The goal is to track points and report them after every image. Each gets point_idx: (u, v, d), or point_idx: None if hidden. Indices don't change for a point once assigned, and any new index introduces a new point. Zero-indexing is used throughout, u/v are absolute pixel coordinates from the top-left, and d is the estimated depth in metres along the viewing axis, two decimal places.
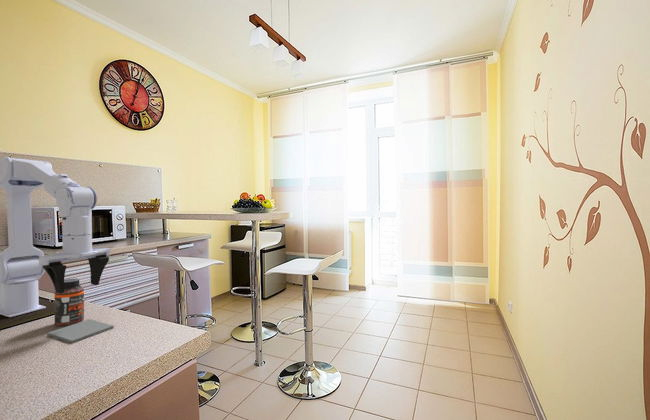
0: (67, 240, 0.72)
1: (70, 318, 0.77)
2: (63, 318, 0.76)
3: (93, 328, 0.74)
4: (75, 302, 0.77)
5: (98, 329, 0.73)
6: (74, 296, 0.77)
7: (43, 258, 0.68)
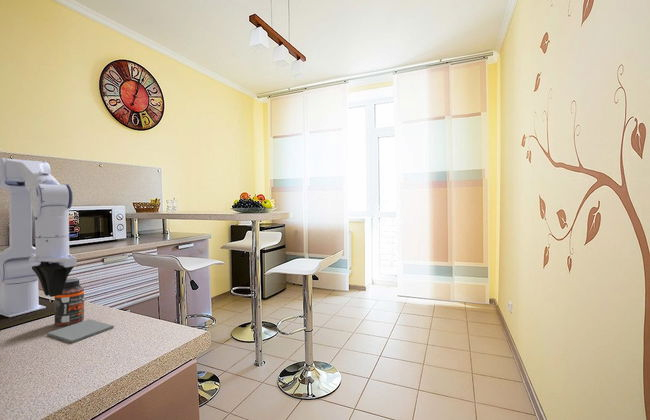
0: None
1: (70, 318, 0.77)
2: (63, 318, 0.76)
3: (93, 328, 0.74)
4: (75, 302, 0.77)
5: (98, 329, 0.73)
6: (74, 296, 0.77)
7: None
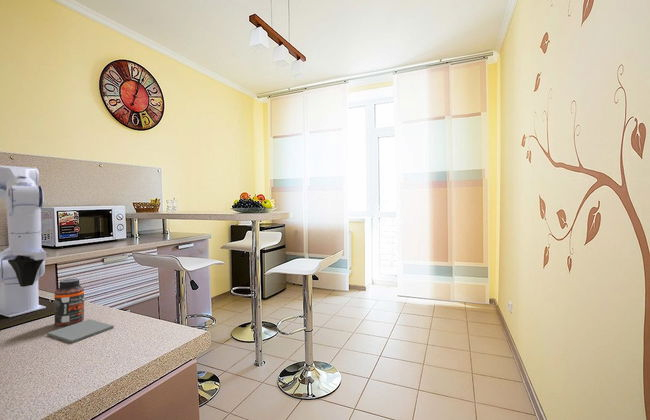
0: None
1: (70, 318, 0.77)
2: (63, 318, 0.76)
3: (93, 328, 0.74)
4: (75, 302, 0.77)
5: (98, 329, 0.73)
6: (74, 296, 0.77)
7: None
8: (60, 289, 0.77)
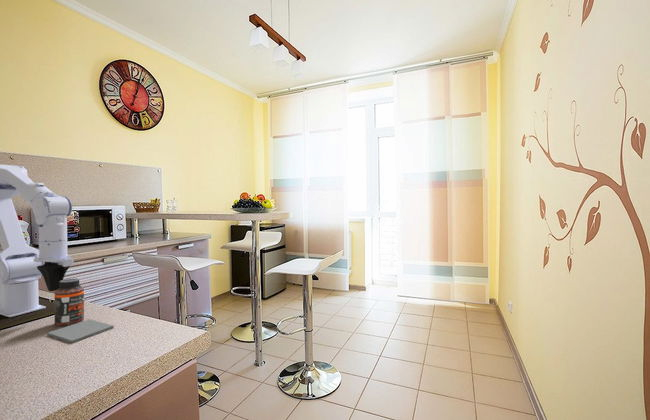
0: None
1: (70, 318, 0.77)
2: (63, 318, 0.76)
3: (93, 328, 0.74)
4: (75, 302, 0.77)
5: (98, 329, 0.73)
6: (74, 296, 0.77)
7: None
8: (60, 289, 0.77)
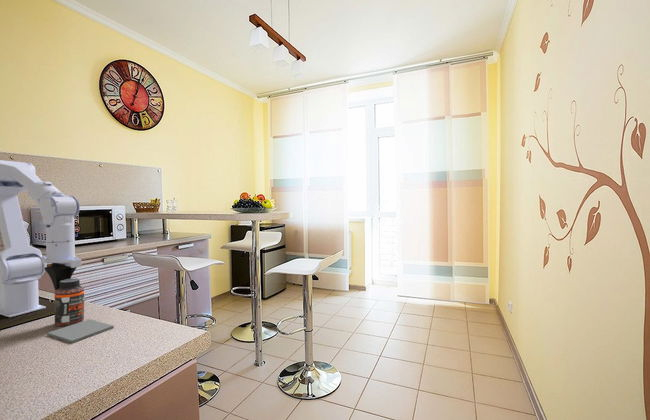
0: None
1: (70, 318, 0.77)
2: (63, 318, 0.76)
3: (93, 328, 0.74)
4: (75, 302, 0.77)
5: (98, 329, 0.73)
6: (74, 296, 0.77)
7: None
8: (60, 289, 0.76)
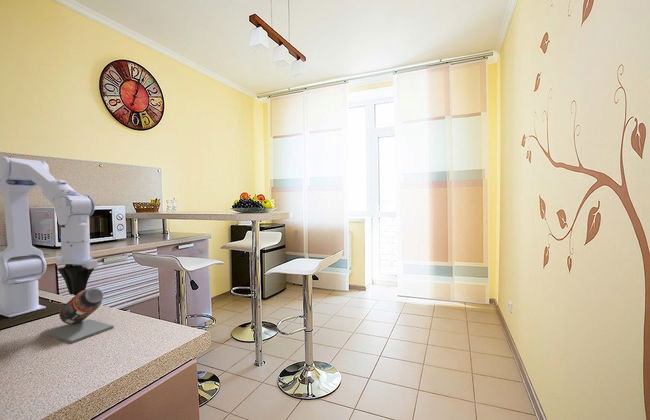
0: None
1: (74, 322, 0.76)
2: (68, 320, 0.75)
3: (93, 328, 0.74)
4: (86, 315, 0.75)
5: (98, 329, 0.73)
6: (89, 312, 0.75)
7: None
8: (81, 301, 0.73)
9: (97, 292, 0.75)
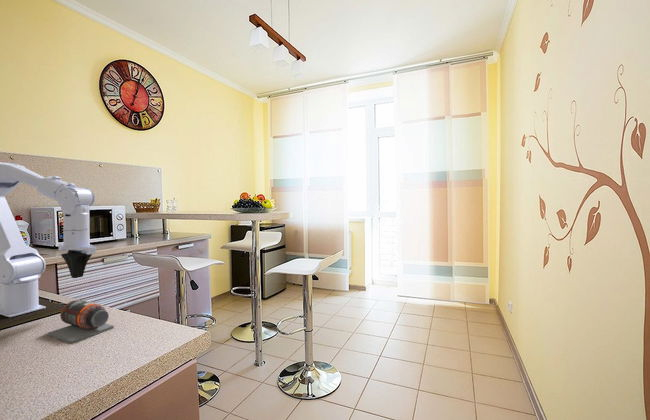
0: None
1: None
2: None
3: (93, 328, 0.74)
4: None
5: (98, 329, 0.73)
6: None
7: None
8: (86, 322, 0.72)
9: (103, 314, 0.73)
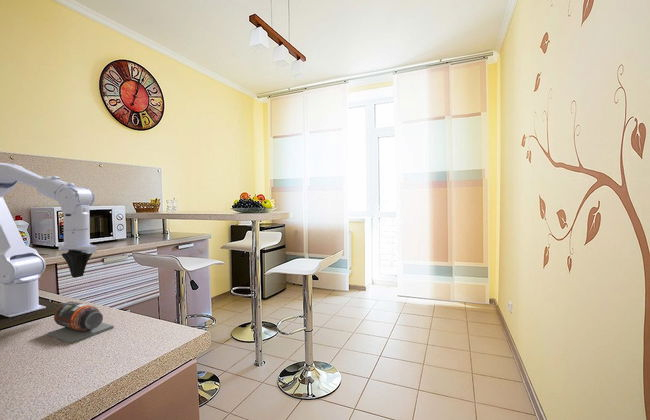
0: None
1: None
2: None
3: None
4: None
5: (98, 329, 0.73)
6: None
7: None
8: (82, 327, 0.71)
9: (96, 316, 0.72)
